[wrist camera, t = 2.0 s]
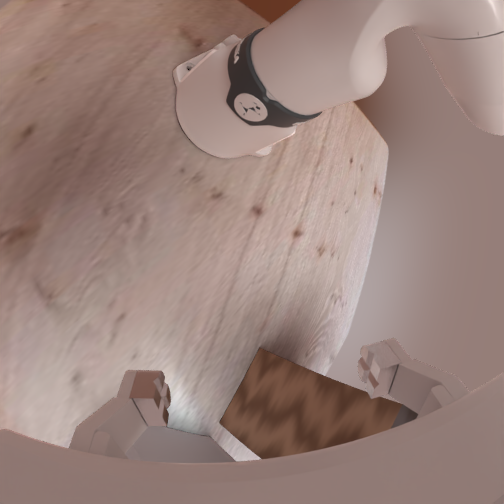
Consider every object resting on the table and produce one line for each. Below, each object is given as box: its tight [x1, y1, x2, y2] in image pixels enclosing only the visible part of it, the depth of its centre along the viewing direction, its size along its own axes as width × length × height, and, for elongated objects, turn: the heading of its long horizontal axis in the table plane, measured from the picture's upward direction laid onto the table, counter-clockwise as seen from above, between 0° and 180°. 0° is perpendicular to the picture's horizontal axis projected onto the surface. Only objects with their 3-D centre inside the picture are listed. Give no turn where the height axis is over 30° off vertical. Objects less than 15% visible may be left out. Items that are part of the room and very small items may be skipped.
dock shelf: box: [125, 426, 236, 463], centre depth 25 cm, size 14×16×15 cm
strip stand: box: [219, 348, 418, 459], centre depth 30 cm, size 14×10×31 cm
